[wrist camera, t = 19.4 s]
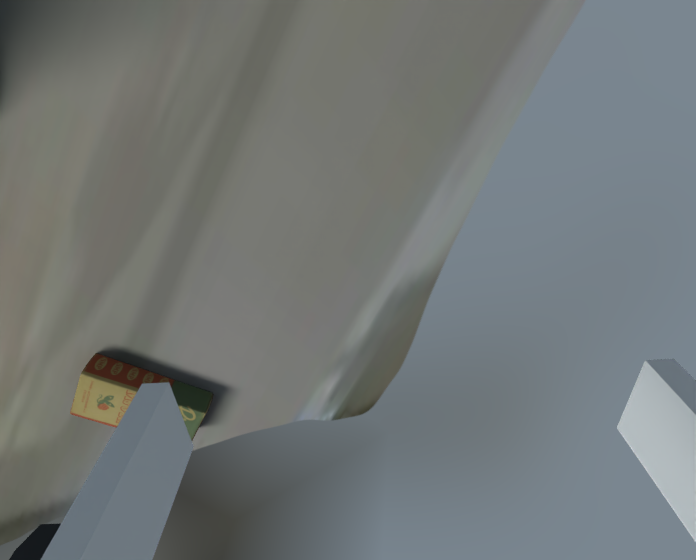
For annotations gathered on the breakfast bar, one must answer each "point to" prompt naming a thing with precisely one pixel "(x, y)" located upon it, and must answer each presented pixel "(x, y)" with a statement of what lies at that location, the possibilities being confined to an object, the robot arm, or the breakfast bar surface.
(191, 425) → the carton
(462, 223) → the breakfast bar surface
